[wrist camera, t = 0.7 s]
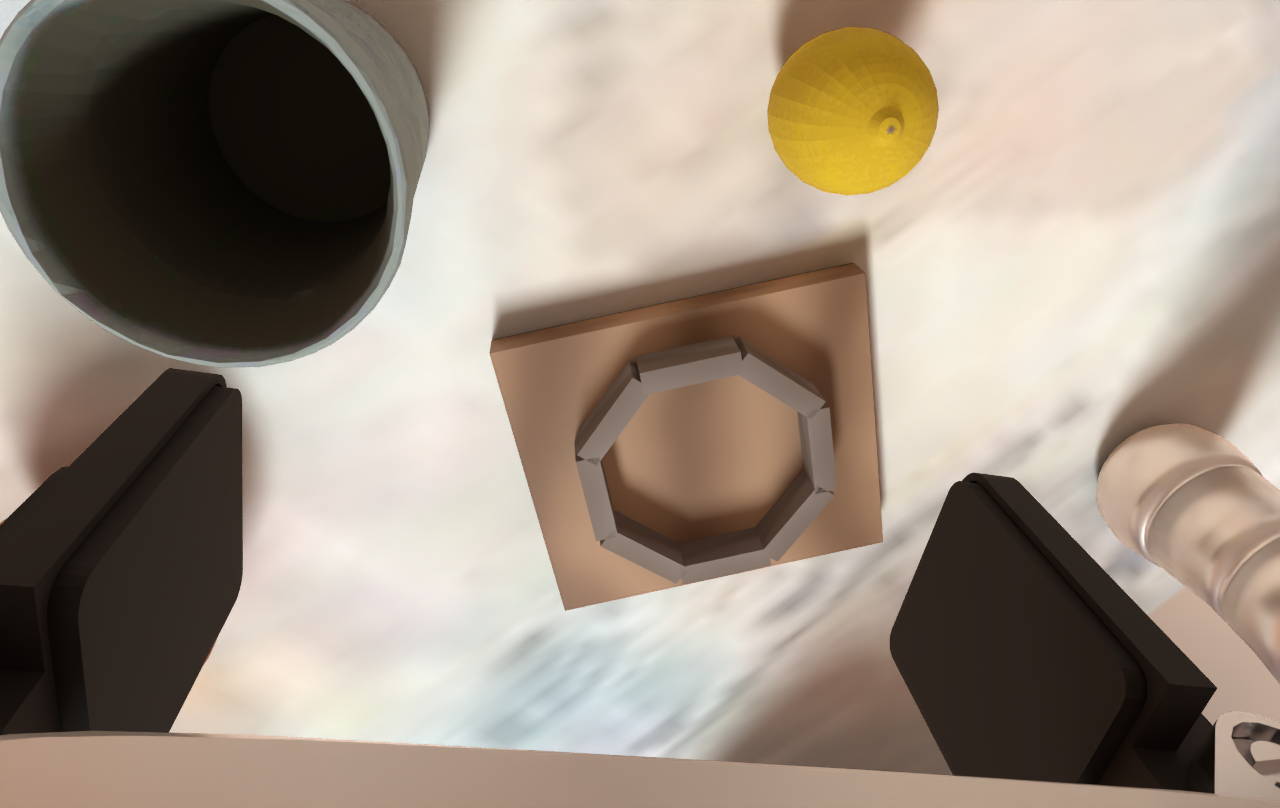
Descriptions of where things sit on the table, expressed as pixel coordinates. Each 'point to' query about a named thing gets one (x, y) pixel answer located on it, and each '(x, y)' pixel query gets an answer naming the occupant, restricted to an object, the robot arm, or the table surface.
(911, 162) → the lemon
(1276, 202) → the table surface
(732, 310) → the holder
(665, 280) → the table surface
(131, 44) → the grey cup
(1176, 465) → the plastic bottle
